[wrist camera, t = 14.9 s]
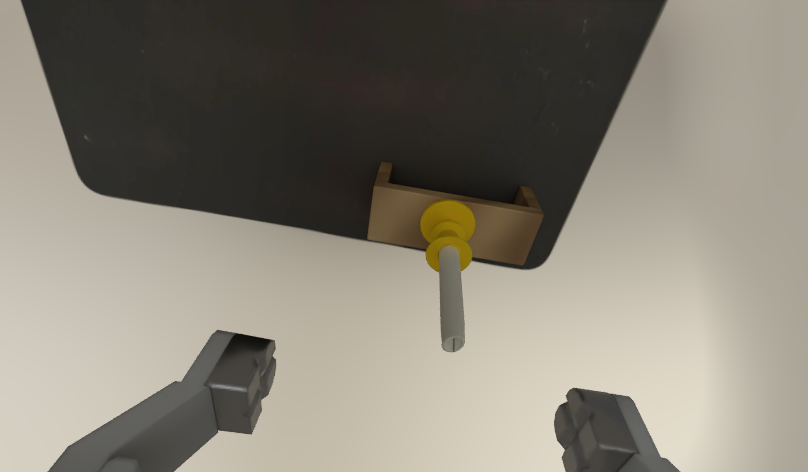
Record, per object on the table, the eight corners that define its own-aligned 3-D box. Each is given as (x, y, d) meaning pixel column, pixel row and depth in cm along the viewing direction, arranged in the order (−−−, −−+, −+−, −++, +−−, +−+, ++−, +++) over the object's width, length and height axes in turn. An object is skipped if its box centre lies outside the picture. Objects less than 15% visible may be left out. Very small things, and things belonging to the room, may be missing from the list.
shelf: (531, 187, 41) (544, 215, 36) (513, 234, 44) (523, 266, 39) (381, 161, 40) (373, 185, 35) (375, 210, 44) (366, 239, 39)
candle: (478, 199, 35) (502, 324, 22) (471, 247, 38) (490, 382, 25) (421, 197, 36) (412, 319, 23) (419, 244, 38) (410, 376, 25)
